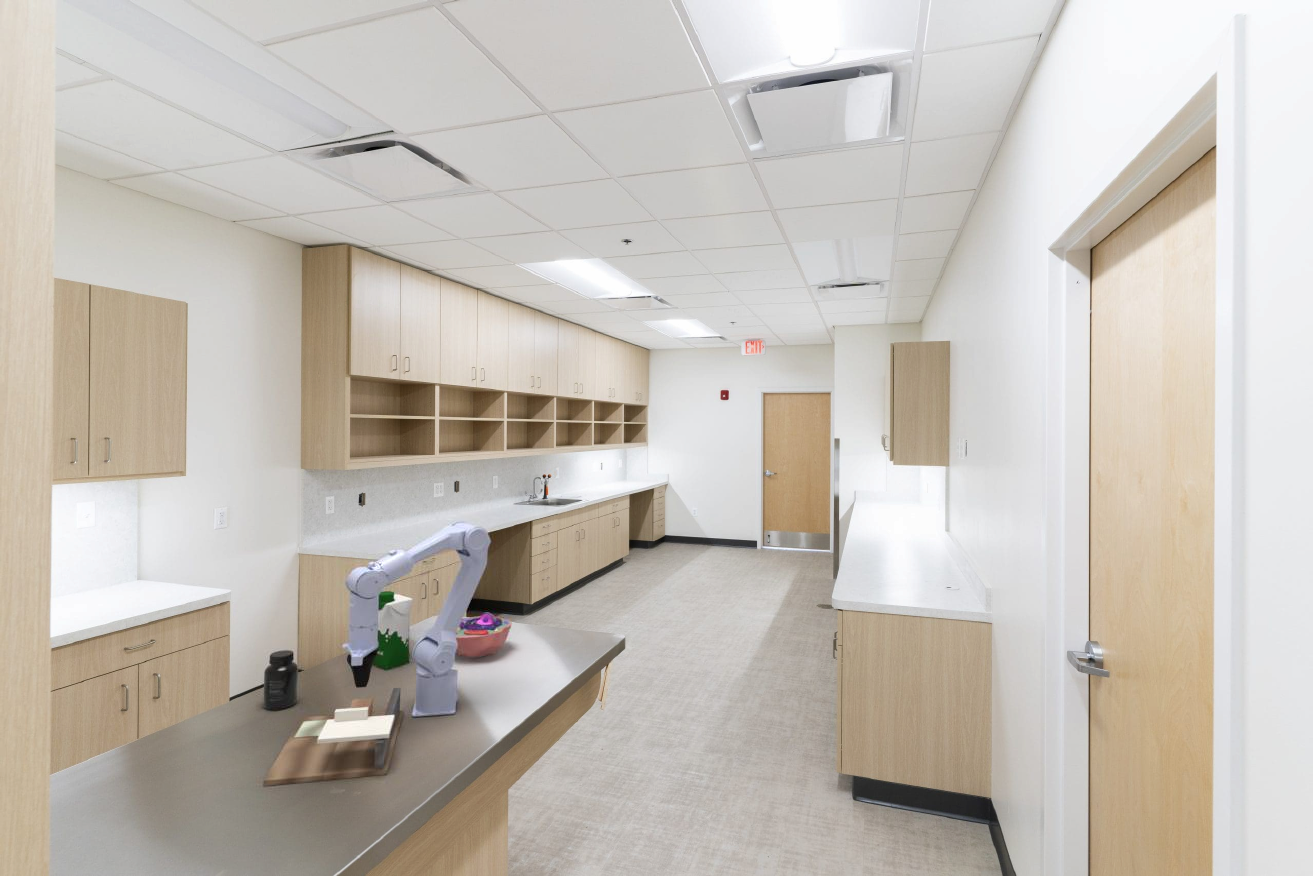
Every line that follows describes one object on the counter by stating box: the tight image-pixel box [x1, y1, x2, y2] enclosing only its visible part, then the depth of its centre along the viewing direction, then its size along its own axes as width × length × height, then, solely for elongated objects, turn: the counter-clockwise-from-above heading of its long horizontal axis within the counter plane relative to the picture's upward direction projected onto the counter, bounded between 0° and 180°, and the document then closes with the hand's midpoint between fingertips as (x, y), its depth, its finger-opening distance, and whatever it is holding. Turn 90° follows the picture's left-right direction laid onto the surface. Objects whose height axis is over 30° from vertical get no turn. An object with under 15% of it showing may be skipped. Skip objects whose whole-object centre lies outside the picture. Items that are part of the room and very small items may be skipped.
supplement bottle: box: [263, 649, 299, 711], centre depth 148 cm, size 7×7×12 cm
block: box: [349, 698, 374, 717], centre depth 137 cm, size 4×4×6 cm
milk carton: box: [372, 590, 414, 671], centre depth 174 cm, size 9×9×20 cm
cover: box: [317, 707, 395, 744], centre depth 124 cm, size 12×8×3 cm, turn 105°
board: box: [262, 687, 404, 787], centre depth 131 cm, size 21×25×6 cm
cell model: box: [455, 611, 513, 659], centre depth 184 cm, size 17×20×11 cm
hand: (361, 686), depth 137 cm, fingers closed
